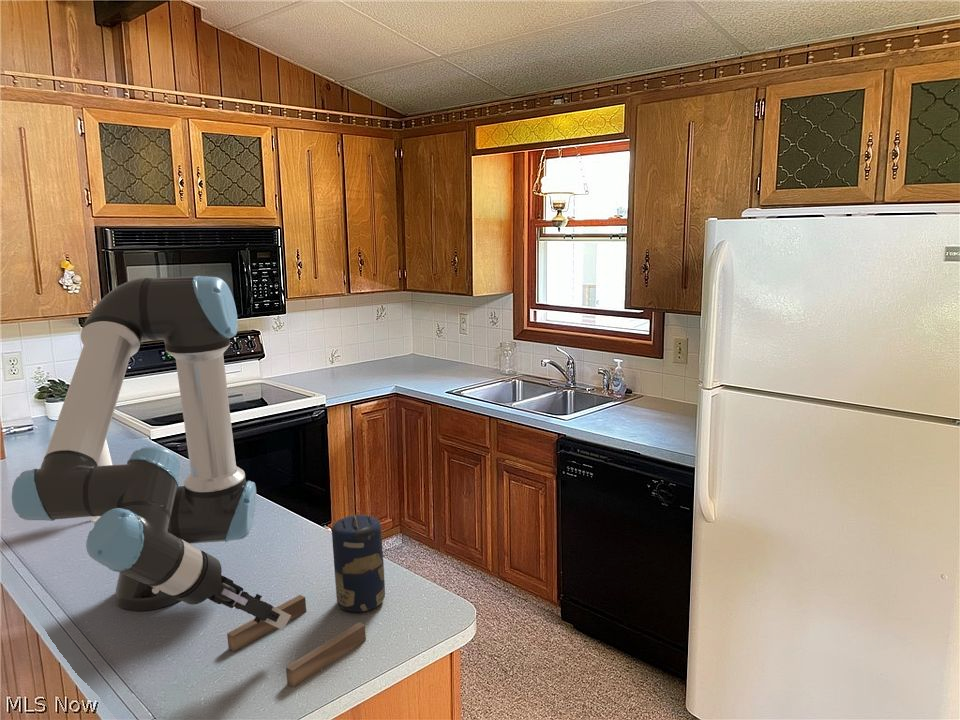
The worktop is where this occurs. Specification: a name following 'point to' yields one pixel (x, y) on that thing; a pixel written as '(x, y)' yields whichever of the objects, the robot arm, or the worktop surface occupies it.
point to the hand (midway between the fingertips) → (284, 621)
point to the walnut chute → (311, 660)
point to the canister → (358, 563)
